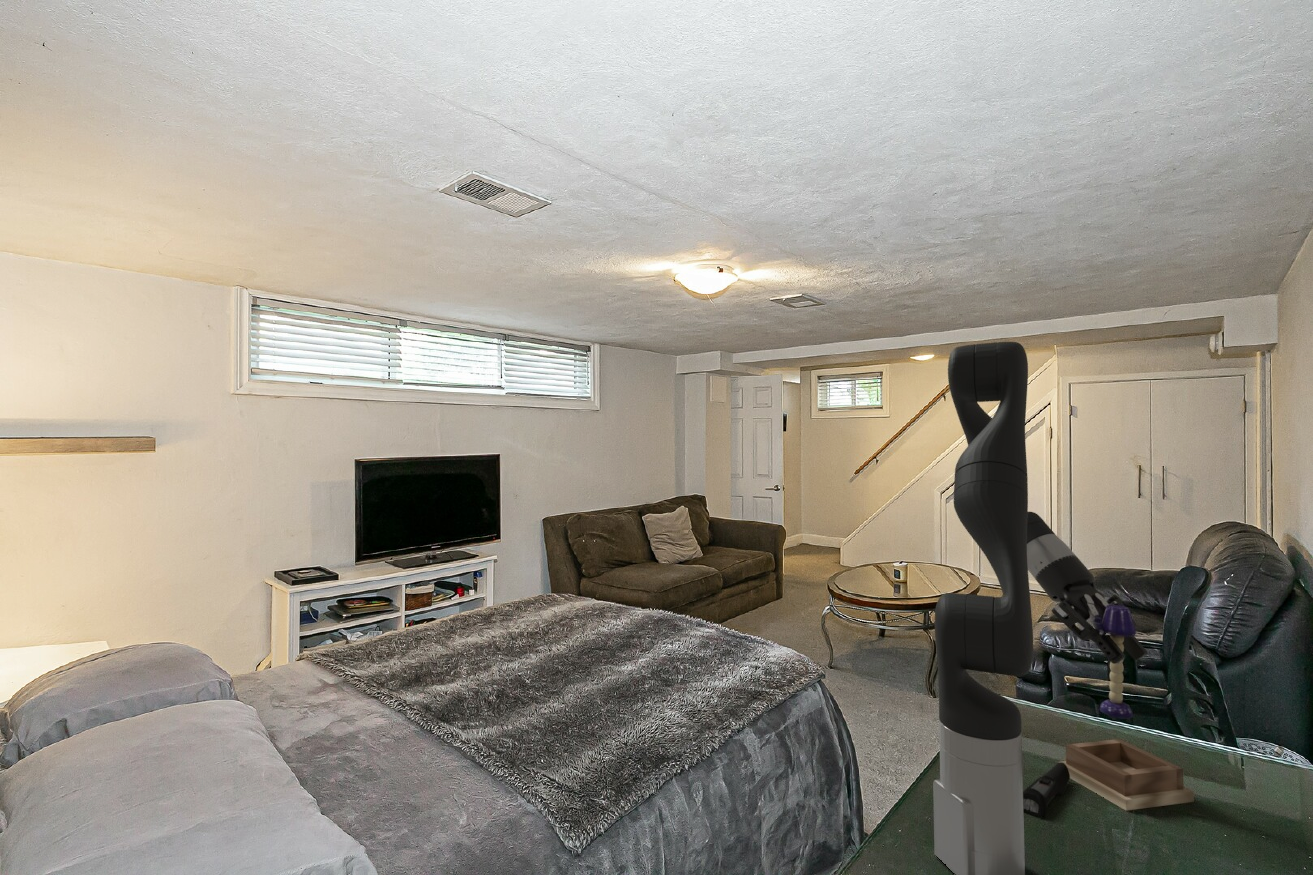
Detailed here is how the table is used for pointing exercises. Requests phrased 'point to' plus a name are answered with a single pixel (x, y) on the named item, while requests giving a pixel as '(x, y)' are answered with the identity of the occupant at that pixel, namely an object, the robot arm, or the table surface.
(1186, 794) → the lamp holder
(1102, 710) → the toy lamp
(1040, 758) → the table surface
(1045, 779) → the electric trimmer
